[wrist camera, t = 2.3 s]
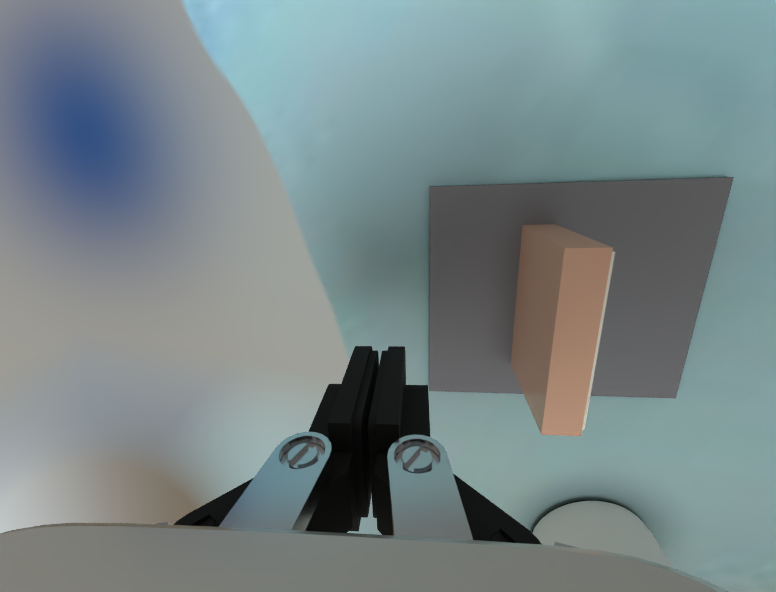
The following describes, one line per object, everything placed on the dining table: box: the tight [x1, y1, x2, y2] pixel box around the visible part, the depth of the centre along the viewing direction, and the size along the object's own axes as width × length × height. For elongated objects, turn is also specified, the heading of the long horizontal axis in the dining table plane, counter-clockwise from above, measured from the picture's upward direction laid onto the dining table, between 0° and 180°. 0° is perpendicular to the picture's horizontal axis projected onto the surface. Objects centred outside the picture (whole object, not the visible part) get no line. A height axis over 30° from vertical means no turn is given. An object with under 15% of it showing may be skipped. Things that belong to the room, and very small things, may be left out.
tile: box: [511, 224, 615, 436], centre depth 17 cm, size 2×8×6 cm, turn 2°
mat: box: [429, 177, 734, 398], centre depth 20 cm, size 14×12×1 cm
